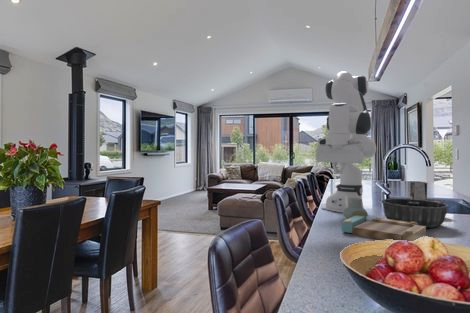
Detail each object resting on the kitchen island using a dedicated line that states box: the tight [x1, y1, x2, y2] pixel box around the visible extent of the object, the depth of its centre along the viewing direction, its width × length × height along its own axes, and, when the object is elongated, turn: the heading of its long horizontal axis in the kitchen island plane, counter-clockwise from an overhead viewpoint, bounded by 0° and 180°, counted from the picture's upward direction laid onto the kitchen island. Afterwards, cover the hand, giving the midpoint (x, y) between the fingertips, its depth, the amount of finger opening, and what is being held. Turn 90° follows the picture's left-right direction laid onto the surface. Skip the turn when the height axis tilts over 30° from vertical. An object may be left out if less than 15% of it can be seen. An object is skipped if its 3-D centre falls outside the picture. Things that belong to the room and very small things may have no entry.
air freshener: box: [342, 198, 368, 220], centre depth 163 cm, size 11×8×10 cm
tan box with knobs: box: [351, 217, 427, 241], centre depth 135 cm, size 22×20×4 cm
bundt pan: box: [381, 198, 449, 229], centre depth 154 cm, size 26×26×10 cm
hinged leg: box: [341, 215, 367, 234], centre depth 143 cm, size 18×4×5 cm, turn 143°
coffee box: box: [408, 181, 428, 200], centre depth 183 cm, size 9×6×16 cm
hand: (338, 173), depth 147 cm, fingers closed
